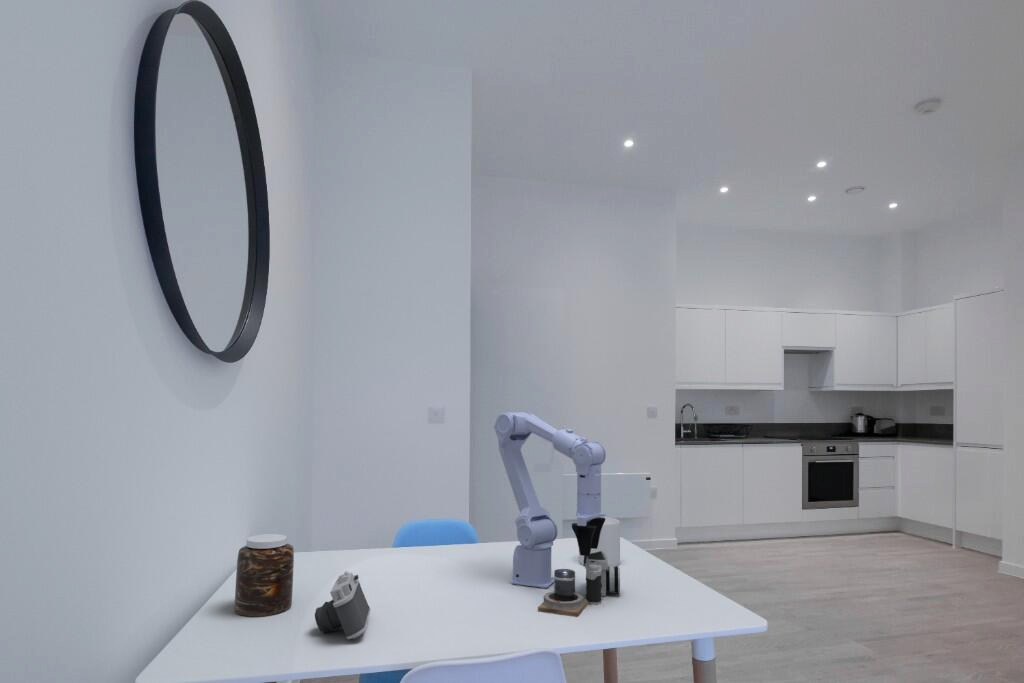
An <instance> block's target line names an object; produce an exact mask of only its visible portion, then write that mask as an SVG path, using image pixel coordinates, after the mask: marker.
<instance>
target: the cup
mask: <svg viewBox="0 0 1024 683" xmlns="http://www.w3.org/2000/svg"><path fill="white" fill-rule="evenodd" d="M603 518H605V522H604V524H603V527H602V529H601V533H600V538H599V543H598V547H597V549H593V548H591V552H590V554H591V553H593V552H594V553H595V552H600V551H603V552H604V553H605V554H606V555H607V558H608V567H616V566H617V567H619V566H620V564H621V521H620V520H619V519H617V518H615V517H614V518H613V517H610V516H609V517H607V516H605V517H603ZM578 563H579V564H580V565H582V566H584V556H583V555H580V551H579V550H578Z"/></svg>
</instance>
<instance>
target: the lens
mask: <svg viewBox="0 0 1024 683" xmlns="http://www.w3.org/2000/svg"><path fill="white" fill-rule="evenodd" d="M553 573H554V575H553V578H554V582H553V586H554V589H553V591H554V600H555V601H558V600H559V601H561V602H569V601H574V600H575V593H576V571H575V570H574V569H570V568H558V569H555V570H554V572H553Z"/></svg>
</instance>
